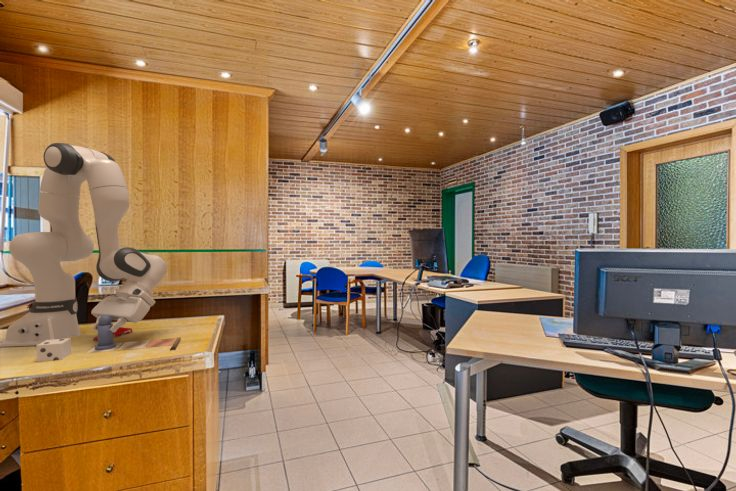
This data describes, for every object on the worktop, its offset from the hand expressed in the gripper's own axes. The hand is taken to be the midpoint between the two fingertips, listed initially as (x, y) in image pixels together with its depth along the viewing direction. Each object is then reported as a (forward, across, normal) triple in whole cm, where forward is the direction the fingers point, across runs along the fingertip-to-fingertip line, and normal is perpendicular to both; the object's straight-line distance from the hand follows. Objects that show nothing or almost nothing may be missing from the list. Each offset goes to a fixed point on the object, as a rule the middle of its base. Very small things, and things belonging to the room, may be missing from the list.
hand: (103, 330), depth 115 cm
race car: (-3, -12, +13) cm, 18 cm away
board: (+1, +6, +9) cm, 11 cm away
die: (+13, -4, -3) cm, 14 cm away
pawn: (+4, 0, +4) cm, 6 cm away
